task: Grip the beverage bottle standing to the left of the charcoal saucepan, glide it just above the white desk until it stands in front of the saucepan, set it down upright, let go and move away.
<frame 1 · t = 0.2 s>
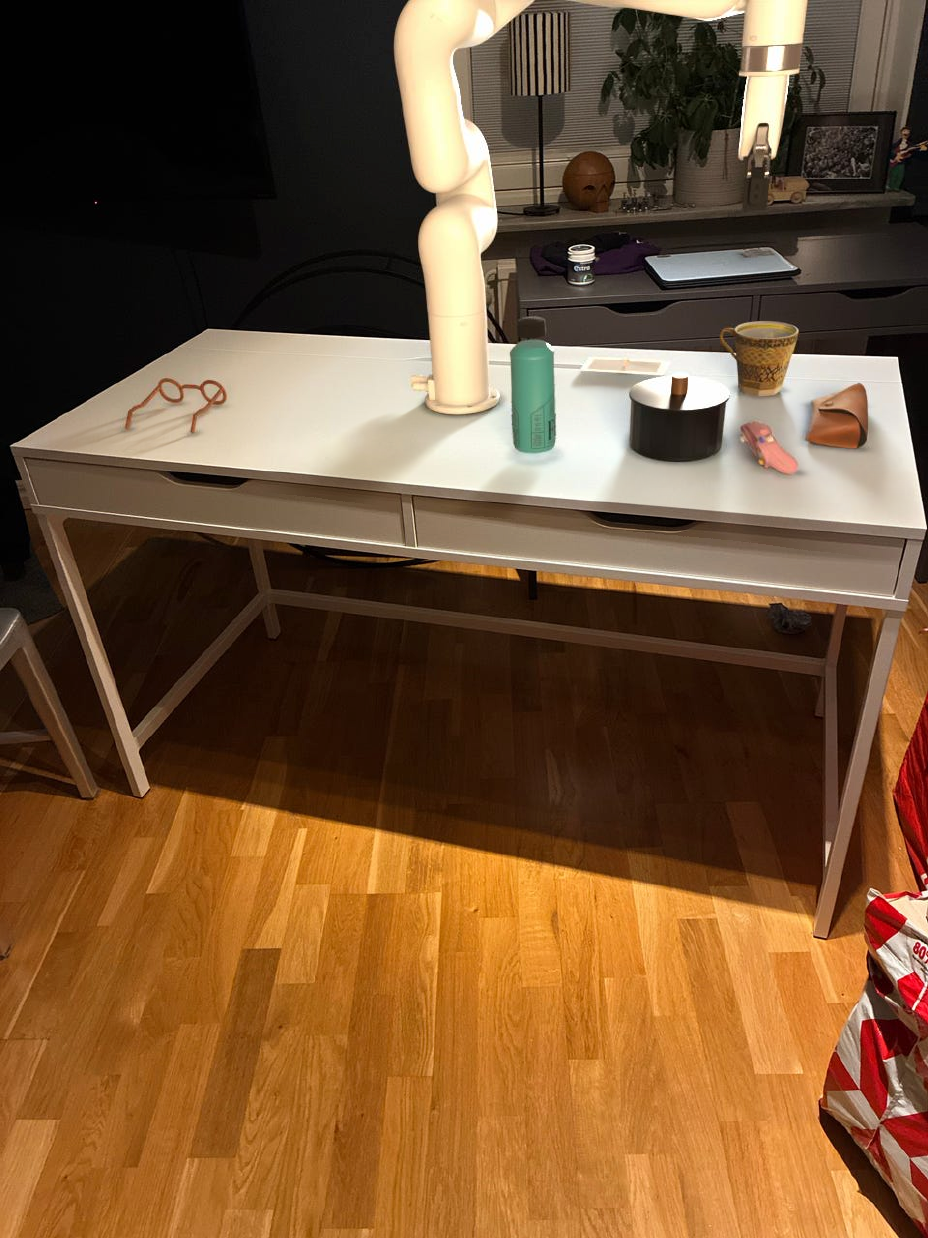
hand: (755, 203, 131), 31 cm above the table, tool pointing down, fingers open, 9 cm apart
beverage bottle: (534, 455, 140), on the table
pink cartoon race car: (765, 464, 133), on the table
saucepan: (675, 444, 140), on the table
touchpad: (625, 372, 169), on the table
saucepan lid: (678, 395, 136), point 7 cm above the table, touching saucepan
ceramic cup: (750, 389, 158), on the table
glasses: (178, 419, 161), on the table
sunglasses case: (836, 426, 143), on the table
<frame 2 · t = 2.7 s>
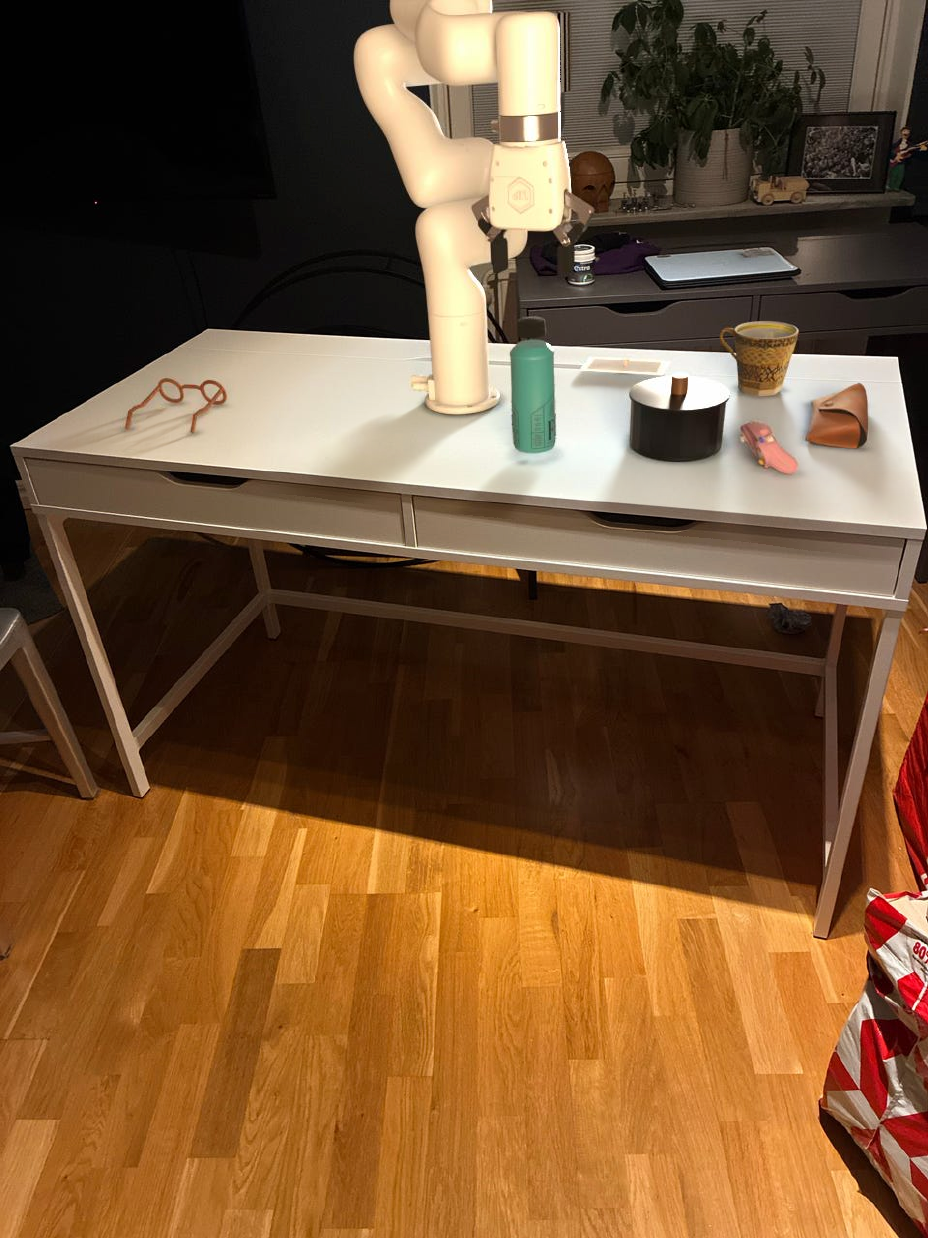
hand: (532, 273, 125), 26 cm above the table, tool pointing down, fingers open, 9 cm apart
nothing on the table moved.
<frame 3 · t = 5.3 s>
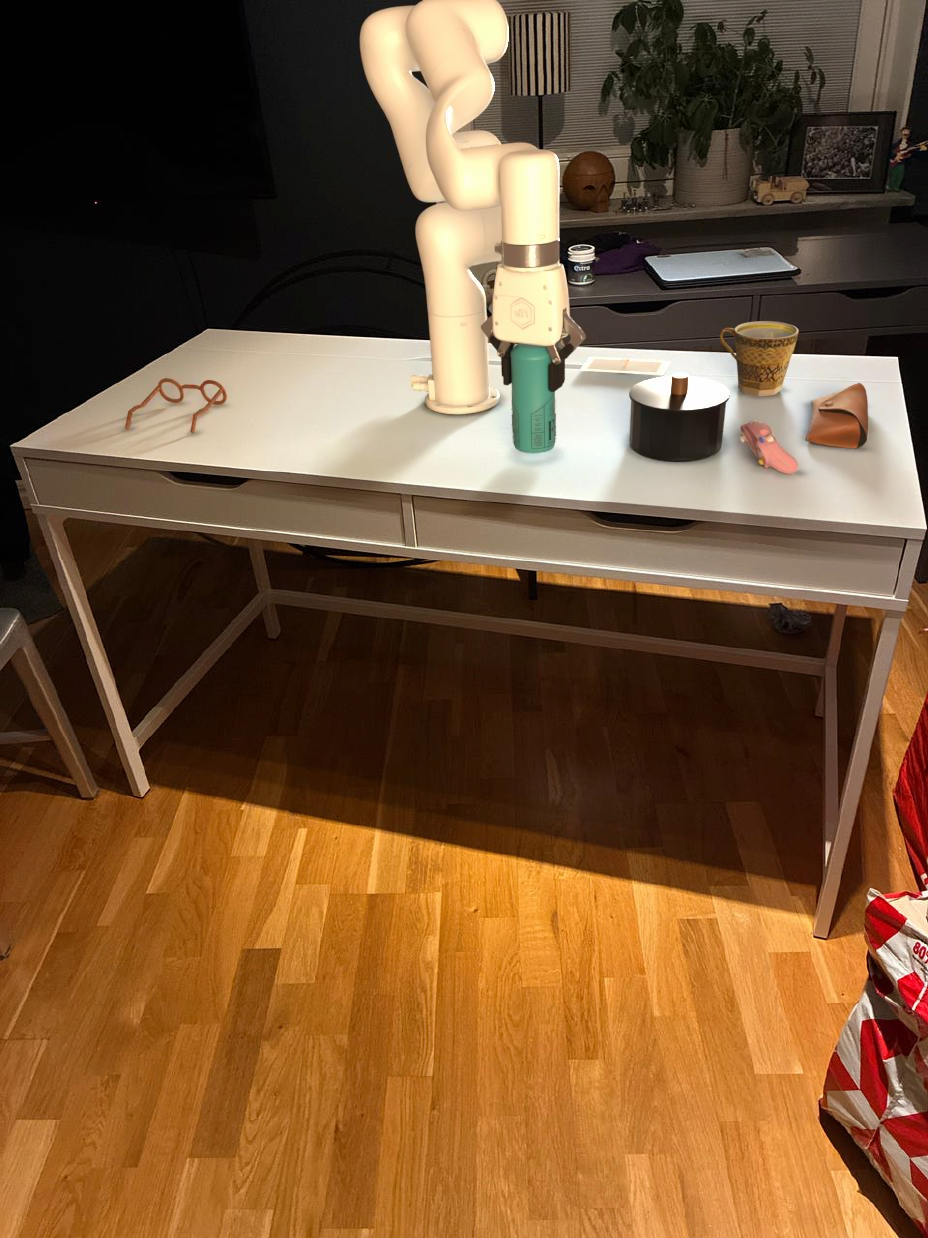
hand: (533, 384, 134), 11 cm above the table, tool pointing down, fingers closed on beverage bottle, 6 cm apart
beverage bottle: (534, 455, 140), on the table, touching gripper
everything else where it was.
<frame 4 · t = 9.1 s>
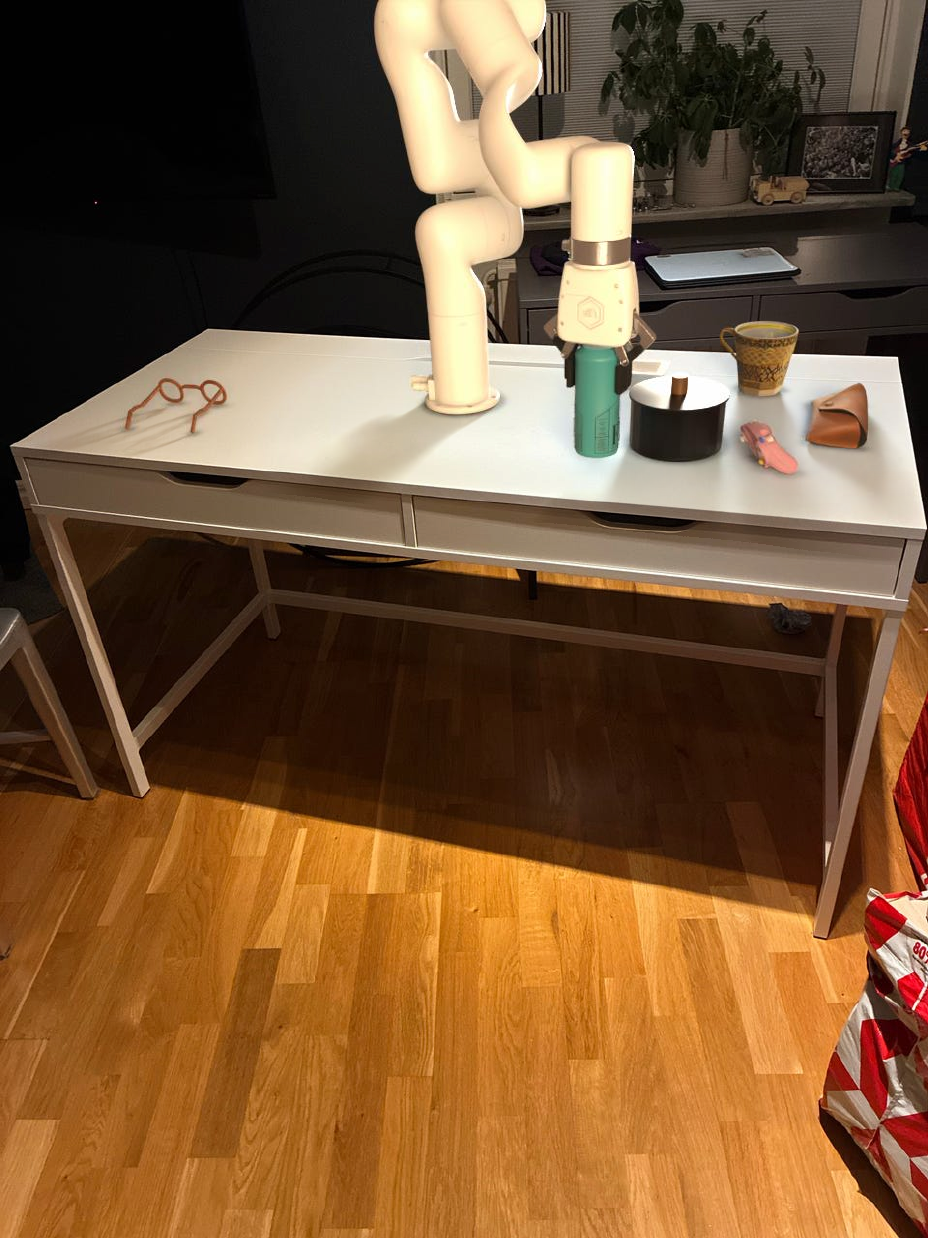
hand: (597, 386, 129), 12 cm above the table, tool pointing down, fingers closed on beverage bottle, 6 cm apart
beverage bottle: (595, 460, 135), point 1 cm above the table, touching gripper
everything else where it was.
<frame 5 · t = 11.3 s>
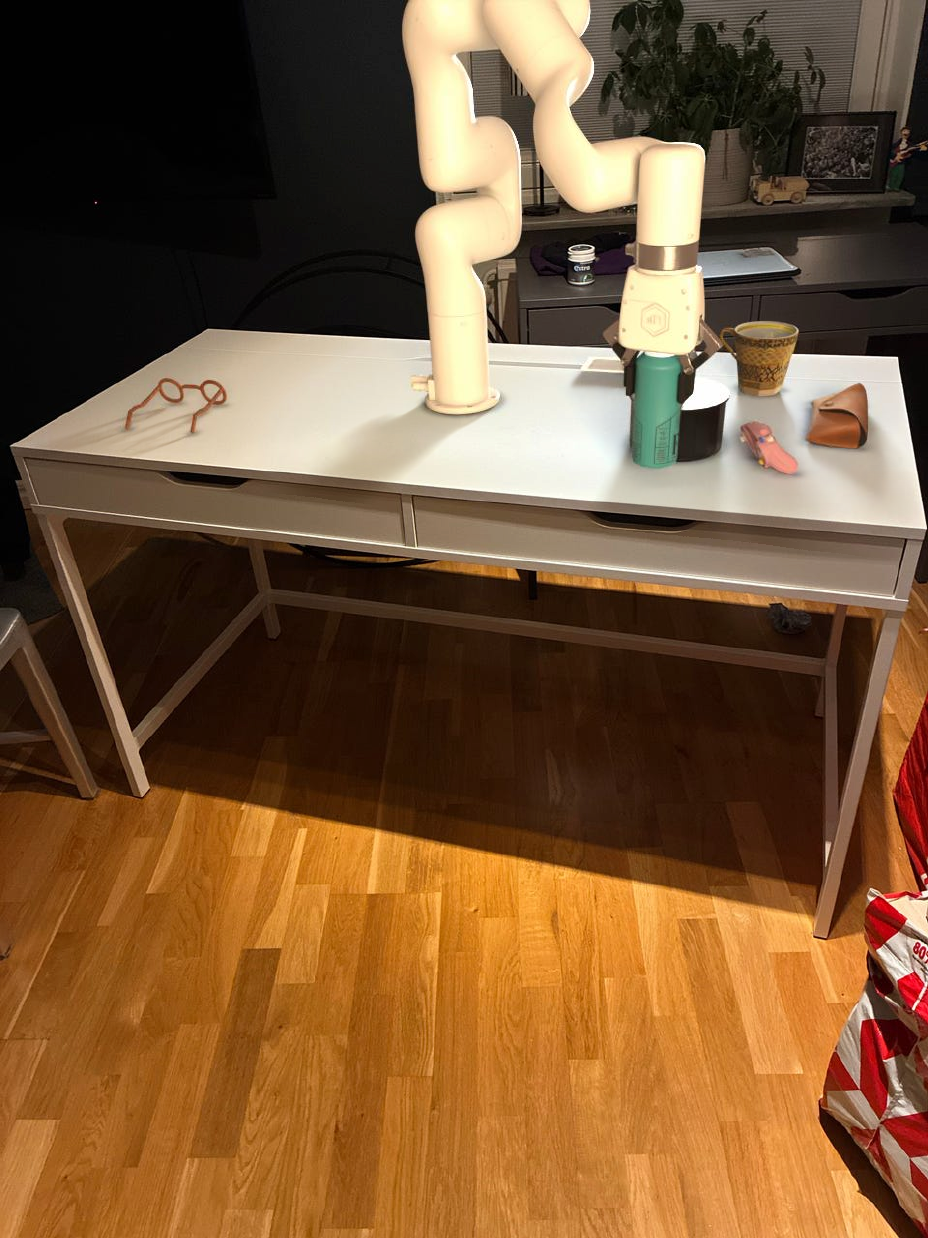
hand: (657, 395, 125), 12 cm above the table, tool pointing down, fingers closed on beverage bottle, 6 cm apart
beverage bottle: (652, 470, 131), point 1 cm above the table, touching gripper
everything else where it was.
when the fingers open (11 cm above the table, at t = 13.1 s): beverage bottle stays where it is, on the table.
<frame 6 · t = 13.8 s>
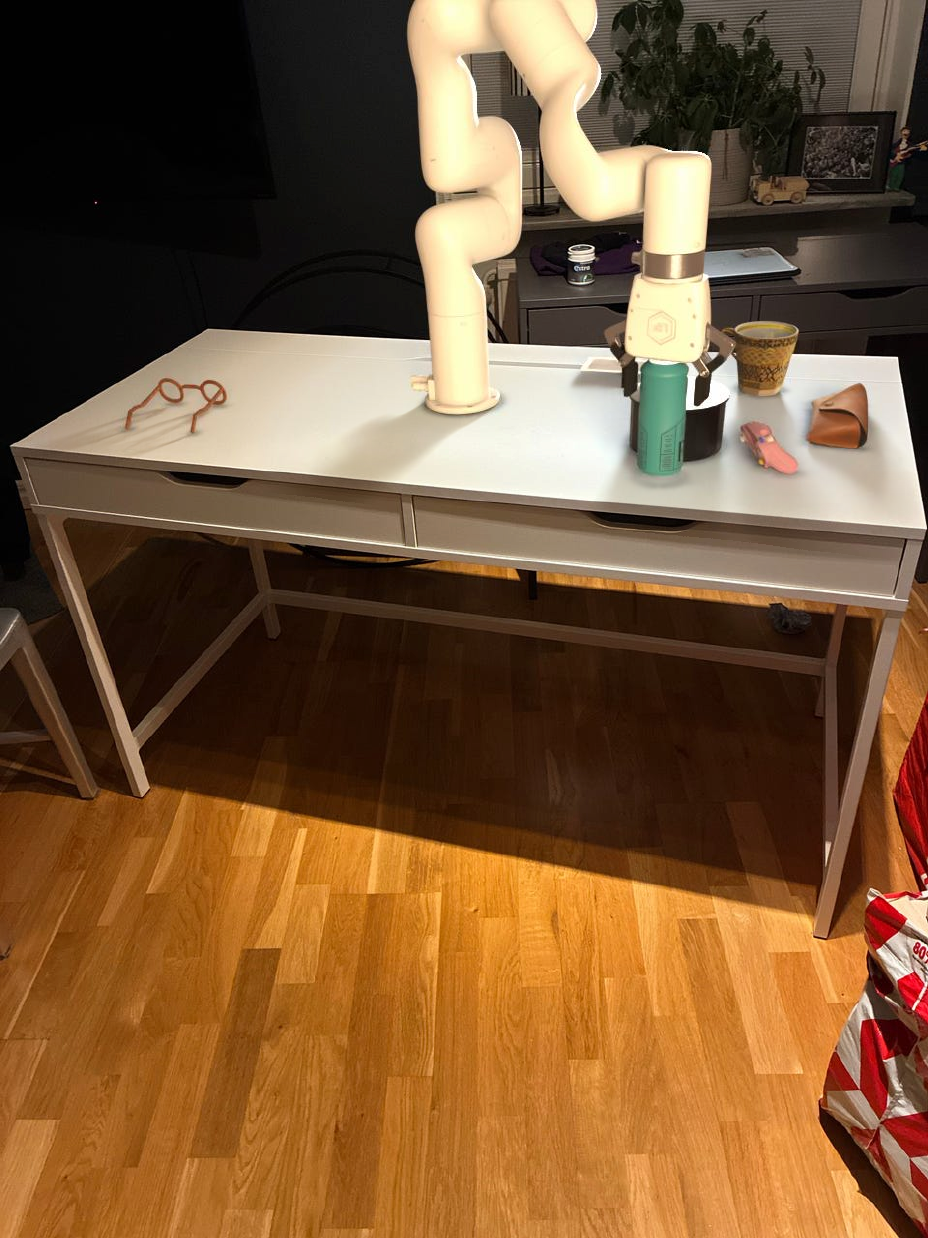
hand: (664, 398, 125), 11 cm above the table, tool pointing down, fingers open, 9 cm apart
beverage bottle: (658, 477, 131), on the table
everything else where it was.
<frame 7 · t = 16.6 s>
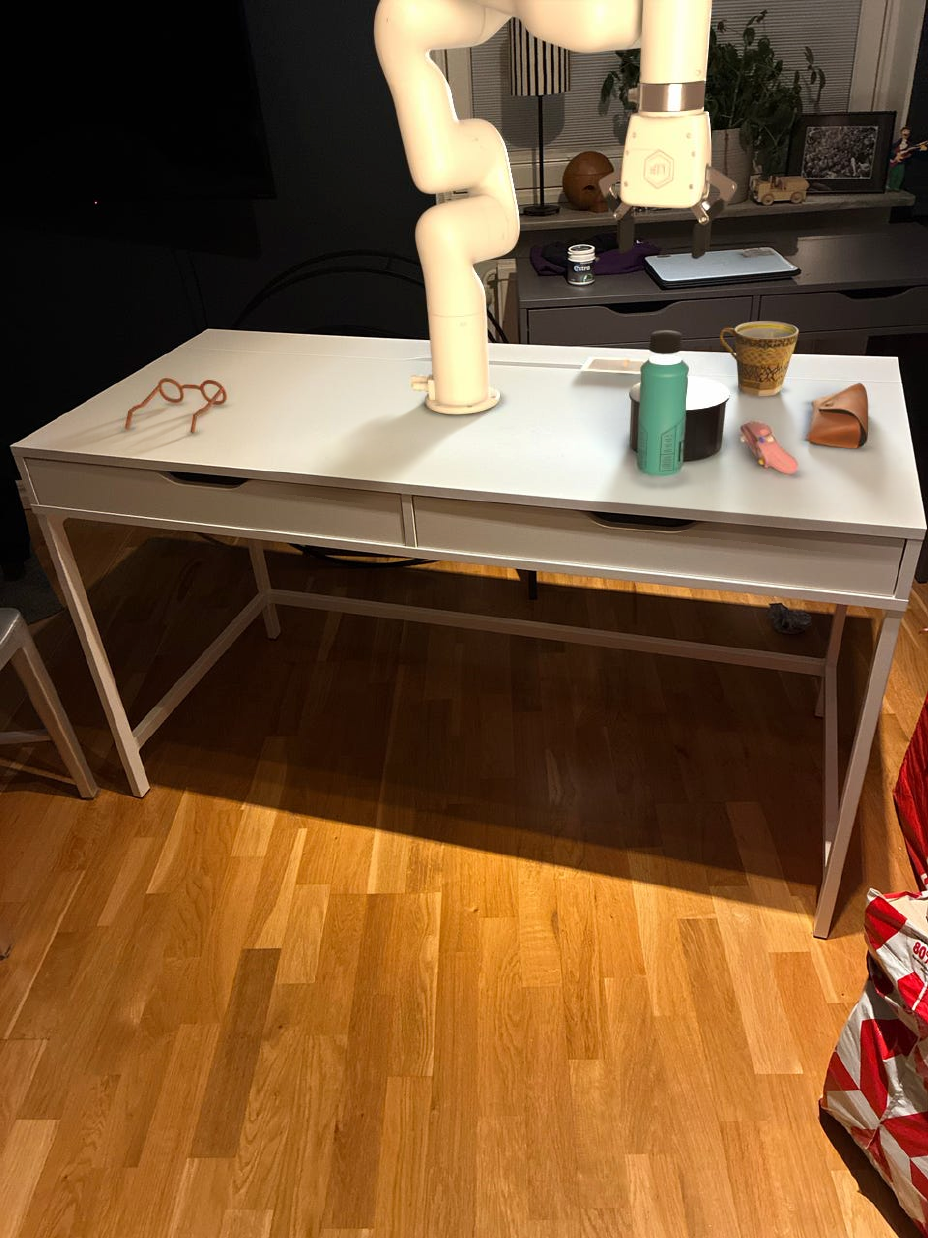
hand: (661, 253, 119), 29 cm above the table, tool pointing down, fingers open, 9 cm apart
nothing on the table moved.
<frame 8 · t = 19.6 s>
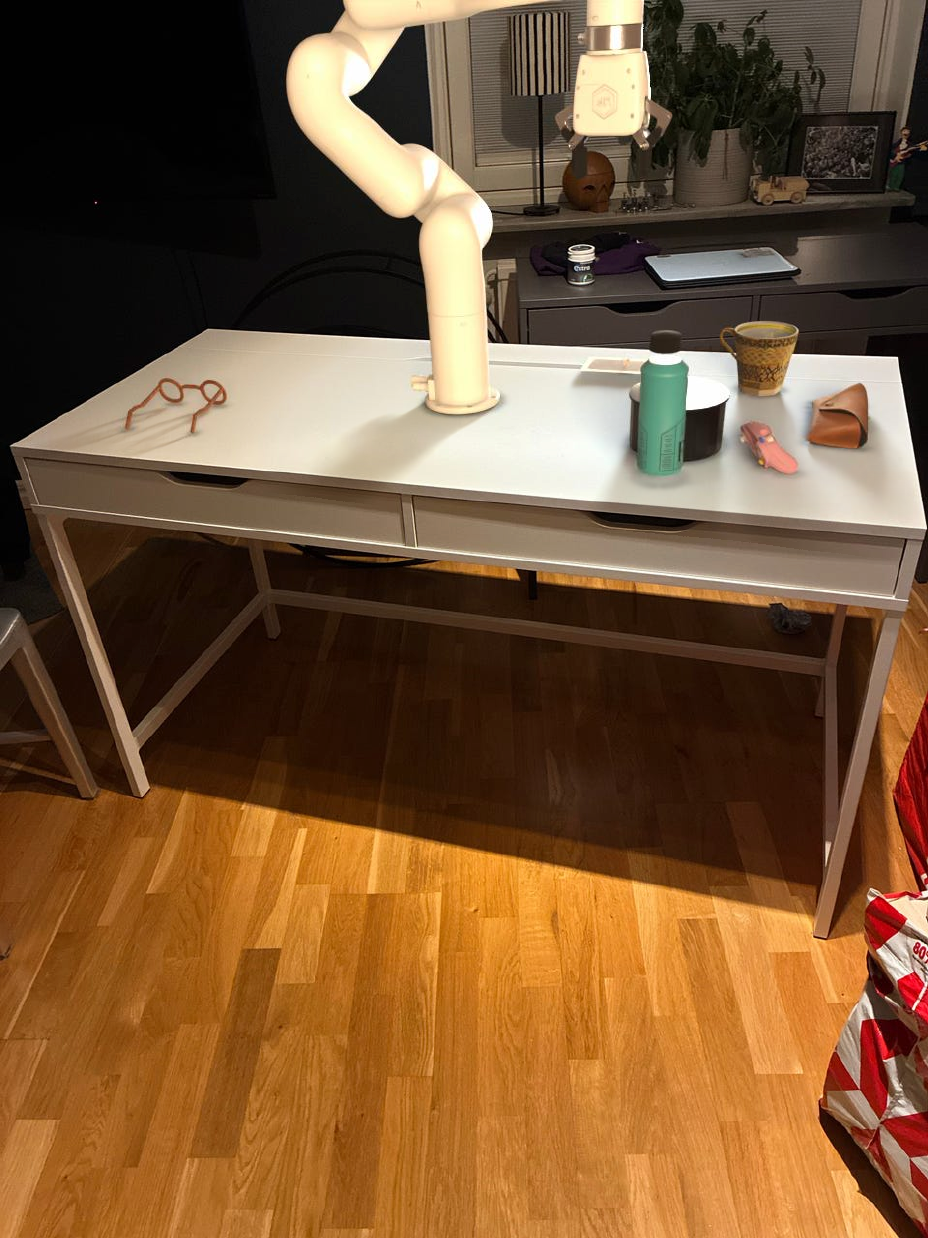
hand: (610, 178, 137), 34 cm above the table, tool pointing down, fingers open, 9 cm apart
nothing on the table moved.
at the end: beverage bottle inside the target area on the table beside the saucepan (1.1 cm from its centre), on the table; beverage bottle tilted 0°; the gripper is holding nothing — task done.
